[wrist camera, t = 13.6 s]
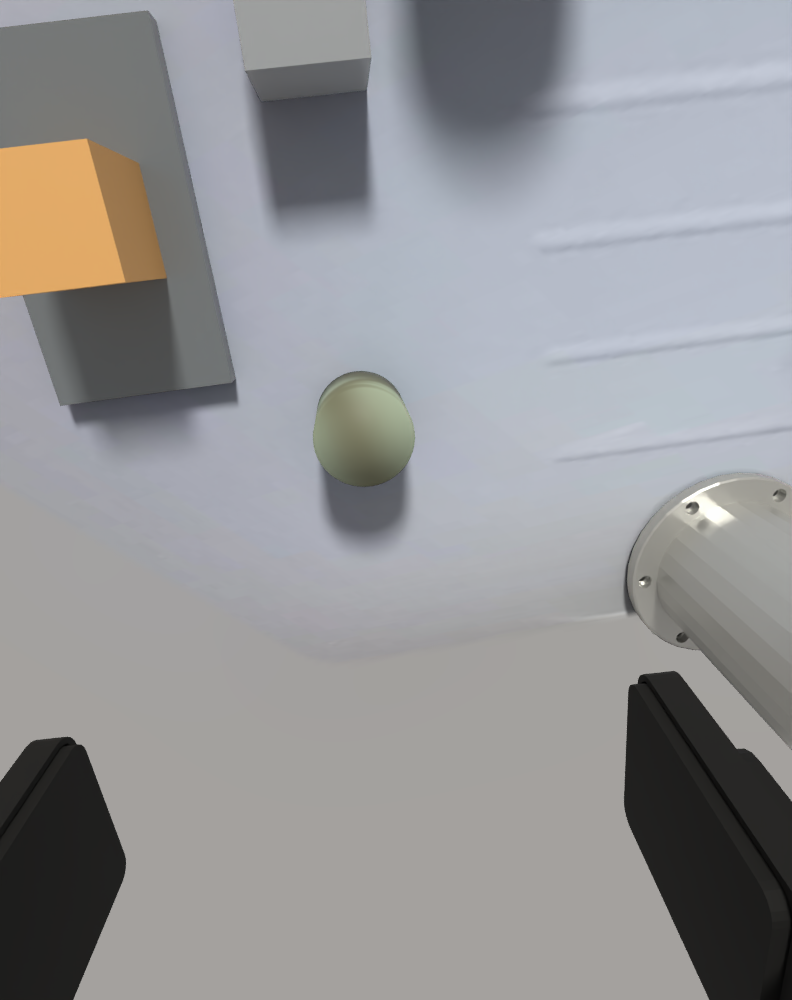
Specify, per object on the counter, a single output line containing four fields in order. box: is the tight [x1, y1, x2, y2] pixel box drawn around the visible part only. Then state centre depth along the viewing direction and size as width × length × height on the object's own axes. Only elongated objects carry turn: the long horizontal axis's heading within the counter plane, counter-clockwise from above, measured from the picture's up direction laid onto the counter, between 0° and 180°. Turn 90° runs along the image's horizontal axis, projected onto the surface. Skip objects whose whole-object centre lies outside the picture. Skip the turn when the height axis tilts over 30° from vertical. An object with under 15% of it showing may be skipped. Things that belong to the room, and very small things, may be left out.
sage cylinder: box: [313, 371, 415, 487], centre depth 32 cm, size 5×5×5 cm
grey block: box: [233, 0, 371, 102], centre depth 25 cm, size 5×5×5 cm
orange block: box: [0, 139, 167, 298], centre depth 26 cm, size 5×5×6 cm
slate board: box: [0, 11, 236, 406], centre depth 29 cm, size 9×16×1 cm, turn 7°
